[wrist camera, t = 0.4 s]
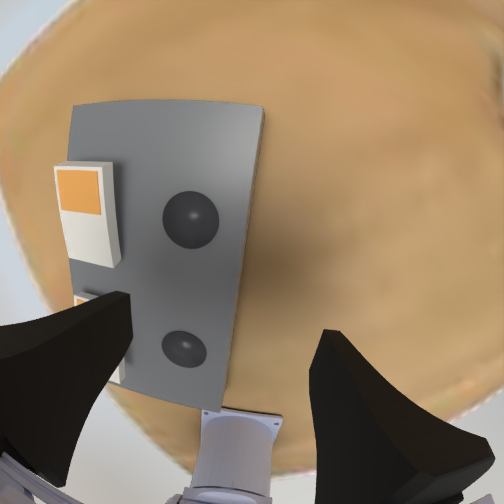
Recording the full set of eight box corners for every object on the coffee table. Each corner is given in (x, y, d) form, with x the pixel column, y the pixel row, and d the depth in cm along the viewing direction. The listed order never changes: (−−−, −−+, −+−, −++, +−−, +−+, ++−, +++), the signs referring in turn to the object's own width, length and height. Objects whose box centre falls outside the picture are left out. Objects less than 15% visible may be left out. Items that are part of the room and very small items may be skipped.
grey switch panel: (225, 388, 23) (219, 414, 20) (106, 357, 23) (91, 377, 20) (265, 115, 16) (263, 105, 13) (98, 109, 16) (71, 105, 13)
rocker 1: (121, 259, 16) (112, 269, 15) (77, 249, 16) (68, 258, 15) (112, 161, 13) (101, 167, 12) (64, 161, 13) (52, 166, 12)
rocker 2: (125, 377, 18) (119, 384, 16) (86, 363, 18) (79, 369, 17) (123, 303, 17) (116, 308, 16) (81, 291, 17) (73, 295, 16)
